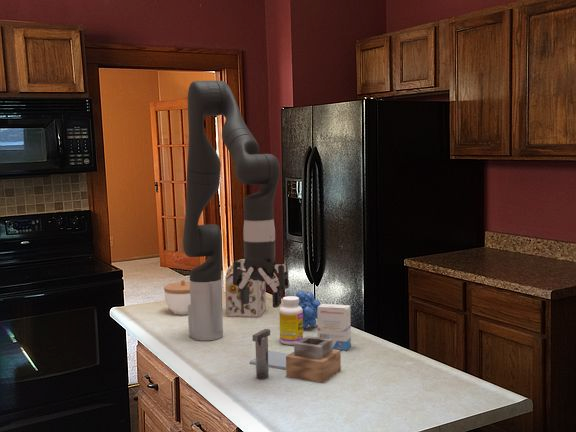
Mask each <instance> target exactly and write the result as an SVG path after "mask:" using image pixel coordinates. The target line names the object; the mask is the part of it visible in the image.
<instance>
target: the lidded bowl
mask: <svg viewBox="0 0 576 432" xmlns="http://www.w3.org/2000/svg"><path fill="white" fill-rule="evenodd" d="M163 291H164V299H165V303H166V306H167V307H168V309H169V310H170V311H171V312H173V314H174V315H180V316H182V315H183V316H185V315H188V305H190V304H191V299H190V281H185V279H181V280H180V282H179V281H178V282H172V283H168V284H166V285H164V287H163Z"/></svg>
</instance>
